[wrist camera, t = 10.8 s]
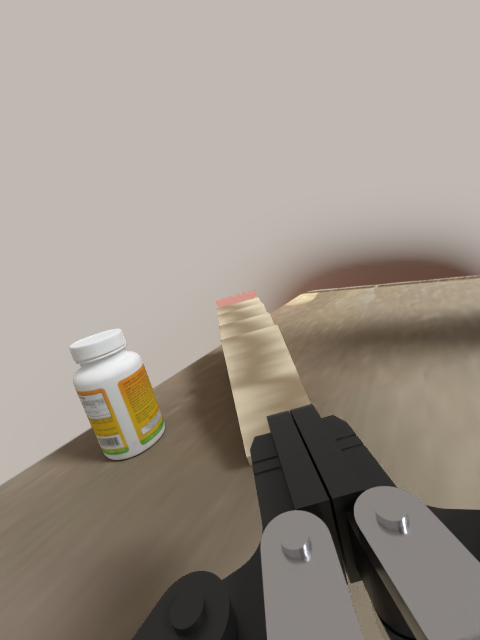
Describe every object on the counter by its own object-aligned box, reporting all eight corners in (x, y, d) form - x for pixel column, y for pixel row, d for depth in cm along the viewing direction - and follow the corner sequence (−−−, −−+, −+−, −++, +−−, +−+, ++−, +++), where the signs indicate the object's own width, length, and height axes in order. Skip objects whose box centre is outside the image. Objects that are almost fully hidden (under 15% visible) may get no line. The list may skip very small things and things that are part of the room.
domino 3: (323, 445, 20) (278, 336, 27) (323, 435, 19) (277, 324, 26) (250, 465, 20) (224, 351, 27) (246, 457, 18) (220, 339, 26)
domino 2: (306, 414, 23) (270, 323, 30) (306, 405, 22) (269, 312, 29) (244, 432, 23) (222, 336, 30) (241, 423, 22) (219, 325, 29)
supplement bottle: (162, 413, 29) (128, 321, 27) (171, 441, 25) (131, 331, 22) (105, 438, 28) (64, 341, 25) (102, 473, 23) (52, 357, 20)
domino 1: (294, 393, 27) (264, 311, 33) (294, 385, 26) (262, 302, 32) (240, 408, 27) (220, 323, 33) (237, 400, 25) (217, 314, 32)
